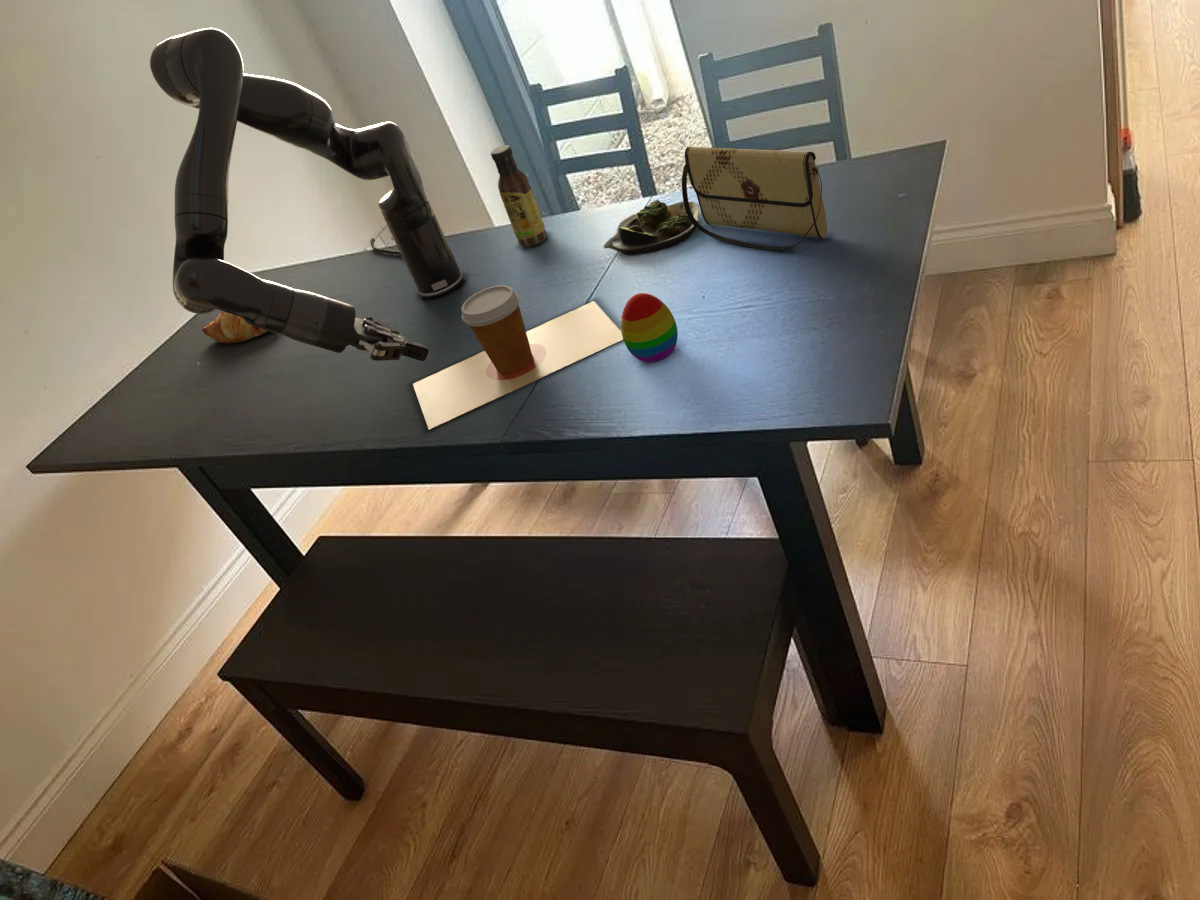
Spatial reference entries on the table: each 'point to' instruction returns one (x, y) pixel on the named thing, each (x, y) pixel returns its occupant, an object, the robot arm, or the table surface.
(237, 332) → the croissant
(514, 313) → the disposable coffee cup
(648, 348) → the decorative egg
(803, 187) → the clutch purse
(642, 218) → the salad plate
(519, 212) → the sauce bottle
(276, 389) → the table surface
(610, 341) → the placemat
